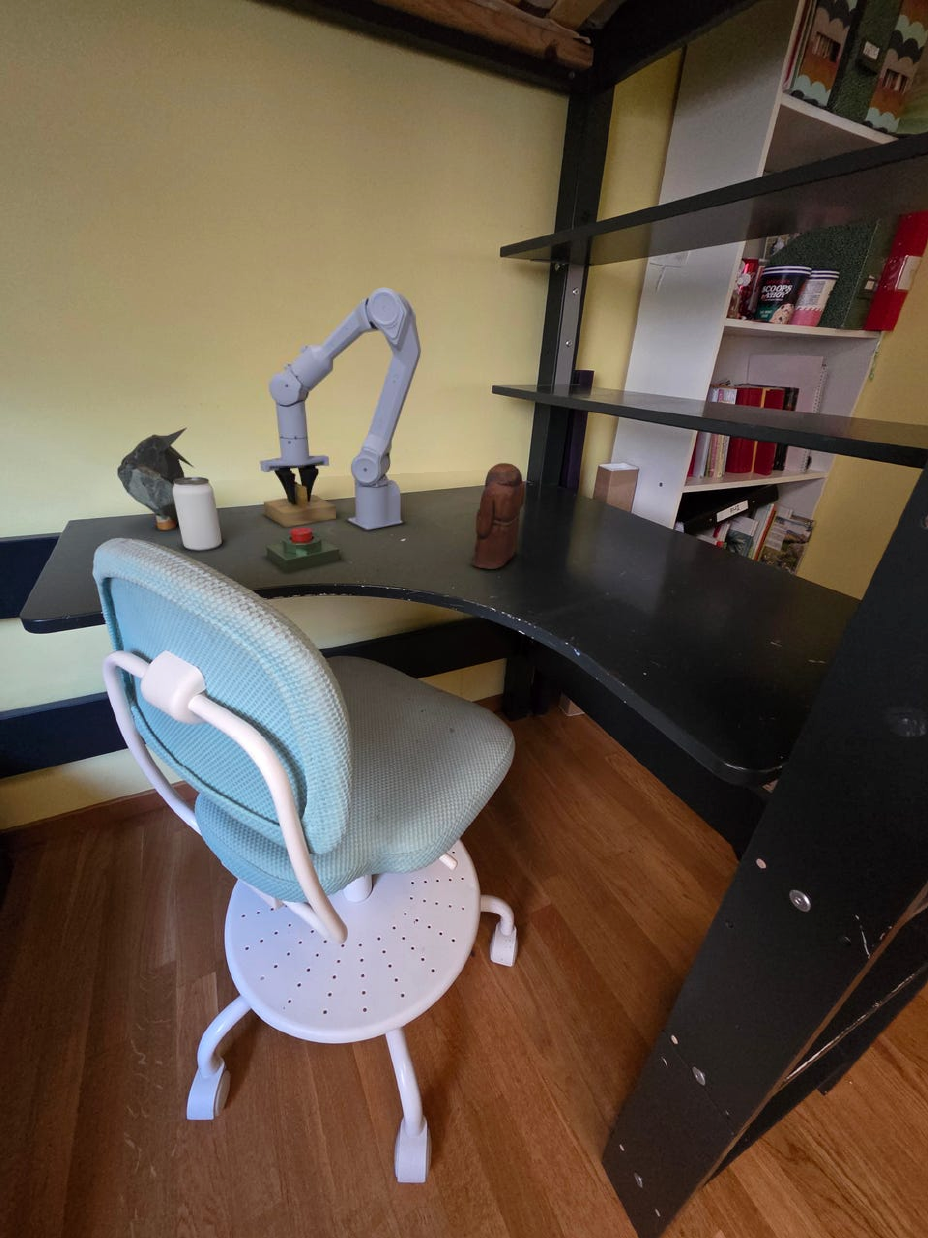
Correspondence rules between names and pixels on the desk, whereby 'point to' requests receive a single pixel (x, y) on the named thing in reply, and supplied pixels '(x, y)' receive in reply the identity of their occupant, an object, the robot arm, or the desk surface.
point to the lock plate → (299, 511)
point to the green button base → (302, 553)
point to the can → (197, 513)
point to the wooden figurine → (499, 516)
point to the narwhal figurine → (154, 476)
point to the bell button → (301, 534)
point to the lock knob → (301, 494)
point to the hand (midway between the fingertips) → (299, 501)
